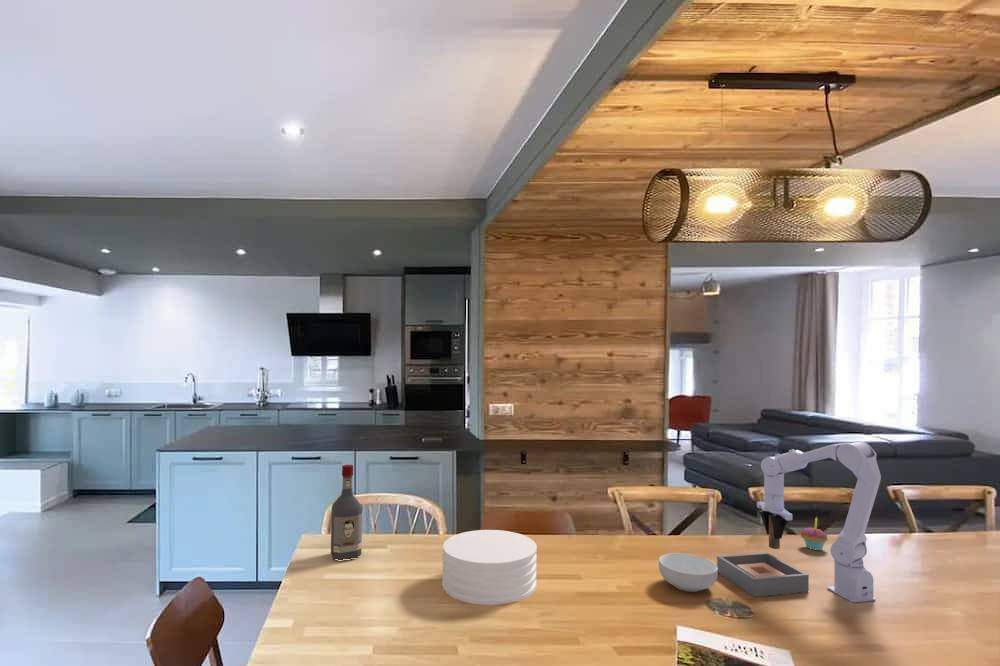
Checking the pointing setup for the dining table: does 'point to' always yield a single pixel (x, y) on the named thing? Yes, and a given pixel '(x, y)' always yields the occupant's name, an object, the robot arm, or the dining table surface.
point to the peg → (772, 541)
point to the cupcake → (814, 537)
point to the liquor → (346, 521)
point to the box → (762, 574)
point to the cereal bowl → (688, 571)
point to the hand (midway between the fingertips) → (774, 536)
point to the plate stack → (489, 567)
